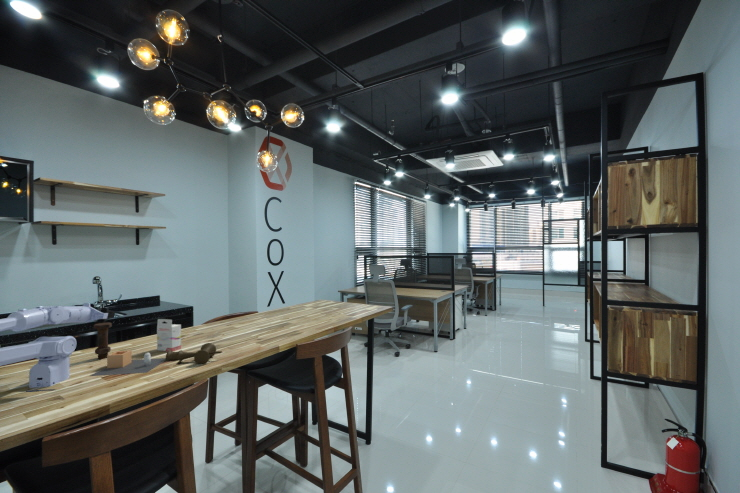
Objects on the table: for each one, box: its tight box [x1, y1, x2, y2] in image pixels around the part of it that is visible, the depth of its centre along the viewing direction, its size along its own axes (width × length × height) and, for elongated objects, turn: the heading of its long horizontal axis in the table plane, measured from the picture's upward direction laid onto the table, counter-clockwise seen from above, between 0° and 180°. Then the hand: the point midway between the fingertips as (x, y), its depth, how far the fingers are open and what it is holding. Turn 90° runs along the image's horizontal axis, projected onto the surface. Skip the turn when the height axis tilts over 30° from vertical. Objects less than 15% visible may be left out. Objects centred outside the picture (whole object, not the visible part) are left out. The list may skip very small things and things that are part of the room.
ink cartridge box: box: [156, 318, 182, 352], centre depth 140 cm, size 9×5×15 cm, turn 73°
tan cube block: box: [106, 350, 132, 368], centre depth 120 cm, size 5×5×4 cm
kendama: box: [165, 342, 223, 365], centre depth 127 cm, size 6×10×20 cm
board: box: [89, 352, 167, 377], centre depth 118 cm, size 16×18×6 cm
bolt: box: [93, 322, 113, 360], centre depth 129 cm, size 6×5×15 cm
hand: (104, 313), depth 127 cm, fingers open, 7 cm apart
